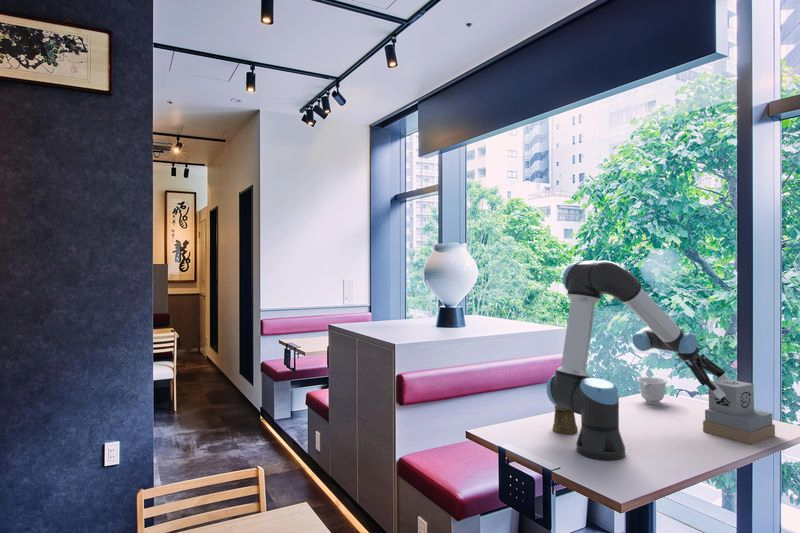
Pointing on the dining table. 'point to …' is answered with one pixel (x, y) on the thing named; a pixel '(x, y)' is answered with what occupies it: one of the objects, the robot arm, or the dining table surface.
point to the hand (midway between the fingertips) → (729, 393)
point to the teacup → (652, 389)
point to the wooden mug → (564, 421)
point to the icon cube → (733, 397)
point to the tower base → (739, 433)
